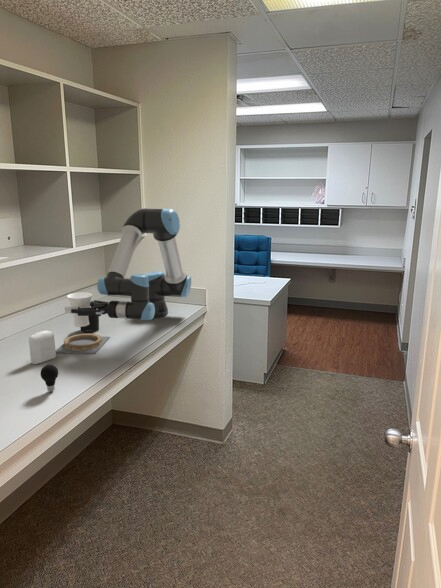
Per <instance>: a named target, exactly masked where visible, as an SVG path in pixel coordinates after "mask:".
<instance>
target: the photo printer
mask: <svg viewBox="0 0 441 588" xmlns="http://www.w3.org/2000/svg"><path fill="white" fill-rule="evenodd" d="M28 345H29V353H30V356H29V357H30V362H31V364H33V365H38V364H41V363H44V362H47V361H50V360H54V359H55V358H56V357H57V353H56V342H55V333H54V332H53V331H51V330H42V331H38V332H35V333H34V334H32V335H31V336H29V337H28Z"/></svg>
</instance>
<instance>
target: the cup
mask: <svg viewBox="0 0 441 588" xmlns="http://www.w3.org/2000/svg"><path fill="white" fill-rule="evenodd" d="M66 297H67V300H68V302H69V305H70V307H79V308H89V305H90V302H91V301H92V297H93V294H92V293H91V292H85V291H84V292H81V291H80V292H73V293H69V294H67V295H66ZM72 315H73V325H74V326H75V327H77V328H78V327H79V328H80V327H83V326H87V325H89V319H88V316H78V314H72Z"/></svg>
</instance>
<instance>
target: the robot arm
mask: <svg viewBox="0 0 441 588" xmlns="http://www.w3.org/2000/svg"><path fill="white" fill-rule="evenodd" d="M180 228H181V224H180V218H179V215H178V212H177V211H176V210H175V209H173V208H171V209H170V208H140V209H138V210H136V211H135V212H134V211H133V213H131V215H130V216H128V218H127V219H126V220H125V222H124V223H123V226H122V229H121V232H122V235H121V236H120V239H119V243H118V245H117V248H116V250H115V253H114V256H113V257H112V262H111V263H110V267H109V269H108V271H107V274H106V276H103V277H100V278H99V279H97V285H96V287H97V291H98V293H99V294H100V295H103V296H104V295H105V296H122V297H130V301H127V300H110V301H104V300H96V299H95V300H93V301H92V300H91V301H90V305H89V308H79V307H71V306H64V313H65V314H71V315H73V314H78V316H99V317H101V316H102V315H106V314H107V316H108V318H110V319H123V320H140V321H150V320H153V318H160V317H164V316H167V315H168V314H169V307H168V304H167V302H166V300H165V298H166V297H173V298H187V297H188V296H189V294H190V292H191V288H192V287H191V286H192V277H191V276H190V275H187V272H186V271H185V270H184V269H183V268H182V263H181V258H180V253H179V249H178V243H177V240H176V237H177V235H178V234H179V231H180ZM144 234H152V235H153V236H152V237H153V239H154V240H156V242H157V243H158V246H159V250H160V254H161V258H162V262H163V266H164V270H165V272H164V271H163V270H162V271H160V270H159V271H151V272H146V273H133V274H131V275H130V278H126V275H127V271H128V269H129V266H130V263H131V260H132V259H133V255H134V253H135V249H136V247H137V243H138V242H139V240H140V239H141V238H142V237H143V235H144Z"/></svg>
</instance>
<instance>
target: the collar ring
mask: <svg viewBox="0 0 441 588" xmlns="http://www.w3.org/2000/svg"><path fill="white" fill-rule="evenodd" d="M101 336H102V335H100V334H96V333H79V334H74V335H71V336H68V337H66V338H65V339H64V340H63V344H64V346H65V348H66V349H69V350H78V351H81V350H88V349H93V348H95V347H98V346H100V345H101V343H102V338H101ZM79 339H94V340H97V341H96V342H93V343H90V344H84V345H73V344H70V342H72V341H75V340H79Z"/></svg>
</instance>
